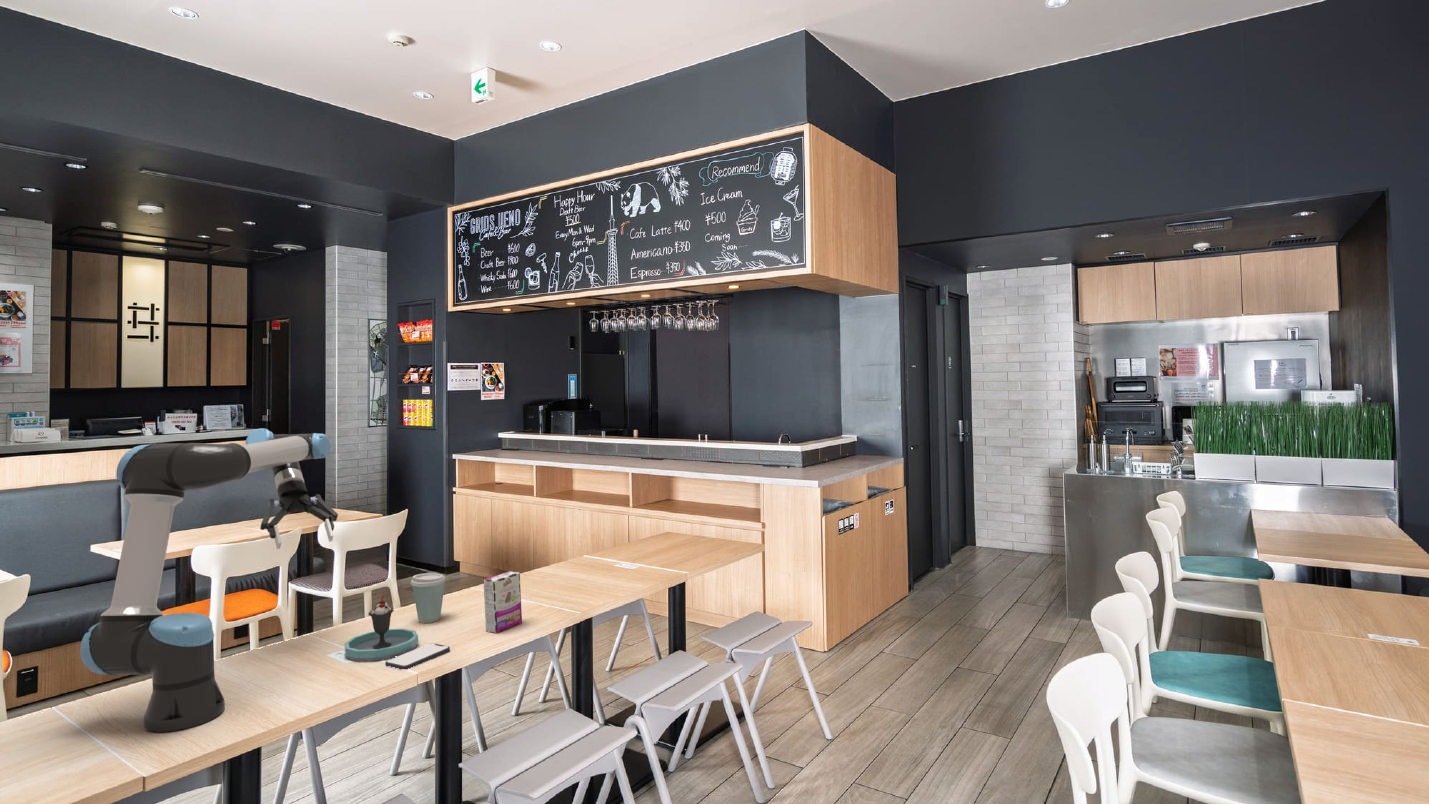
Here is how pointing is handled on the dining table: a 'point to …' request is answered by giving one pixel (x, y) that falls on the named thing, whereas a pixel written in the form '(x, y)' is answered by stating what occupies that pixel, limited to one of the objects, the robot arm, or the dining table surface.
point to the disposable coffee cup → (428, 596)
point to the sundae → (381, 622)
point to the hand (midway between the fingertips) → (305, 542)
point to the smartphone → (418, 656)
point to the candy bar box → (502, 601)
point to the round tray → (375, 641)
